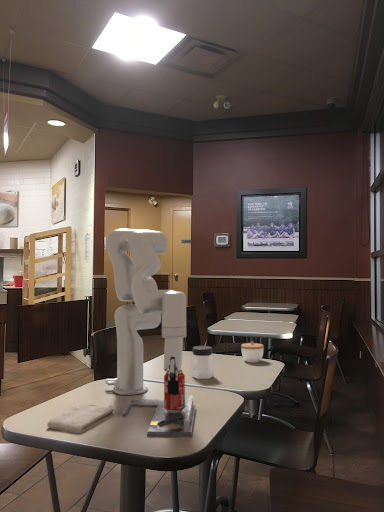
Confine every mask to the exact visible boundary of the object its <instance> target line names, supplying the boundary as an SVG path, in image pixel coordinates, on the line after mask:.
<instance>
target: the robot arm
mask: <svg viewBox="0 0 384 512" xmlns="http://www.w3.org/2000/svg"><path fill="white" fill-rule="evenodd" d="M168 248H169V242H168V238H167V236H166V234H165V233H164V232H162V231H159V230H152V229H137V228H136V229H135V228H133V229H132V228H131V229H130V228H118V229H113V230H111V231H110V232H109V233H108V235H107V238H106V249H107V253H108V256H109V259H110V261H111V264H112V270H113V271H112V272H113V280H114V287H115V294H116V297H117V299H118V300H119V301H120V302H133V303H134V304H133V303H132V304H125V305H121V306H119V307H117V308H116V310H115V312H114V324H115V329H116V331H115V332H116V340H117V341H116V350H117V351H116V352H117V353H116V354H117V355H116V356H117V360H116V361H117V367H116V369H117V370H116V372H117V373H116V375H117V376H116V377H115V378H106V380H105V384H106V385H107V386H113V387H112V392H113V393H115V394H117V395H124V396H132V395H139V394H143V393H145V392H147V391H148V389H149V388H148V385H147V384H145V383H144V341H143V338H142V337H141V336H140V334H139V333H138V331H140V330H149V329H151V330H152V329H156V328H157V327H158V326H159V325H160V324H161V338H164V348H163V349H164V351H163V353H164V354H163V371H164V372H166V371H167V370H169V374H168V394H179V381H178V371H179V370H182V369H181V368H182V365H183V354H184V353H183V345H184V344H183V339H185V338H187V295H186V293H185V292H183V291H176V290H174V289H158V285H157V282H156V280H155V279H154V277H153V276H155V275H156V274H157V273H158V272H159V271H160V270H161V268H162V262H161V259H160V257H159V255H164V254H165V253H166V252H167V251H168ZM127 252H130V255H131V256H130V255H129V254H128V253H127ZM174 369H177V370H174ZM175 373H176V374H175Z"/></svg>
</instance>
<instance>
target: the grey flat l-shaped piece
mask: <svg viewBox="0 0 384 512" xmlns="http://www.w3.org/2000/svg"><path fill="white" fill-rule="evenodd" d="M158 405H164V399H155V398H154V399H148V398H147V399H144V398H143V399H141V398H140V399H139V398H137V399H135V398H134V399H133V398H132V399H131V400H130V402H128V405H127V406H125V407H126V408H125V409H124V410H123V412H122V414H121V415H122V418H124V417H125V418H126V417H127V415H128V413H129V412H130V410H131V408H134V407H135V408H136V407H137V408H157V407H158Z"/></svg>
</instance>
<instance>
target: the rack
mask: <svg viewBox="0 0 384 512" xmlns="http://www.w3.org/2000/svg"><path fill="white" fill-rule="evenodd" d="M195 414H196V405H195V404H194V396H193V395H189V396H188V400H187V404H185V408H184V409H183V410H182V411H181V412H179V413H170V412H168V411H167V410H166V409H165V408H164V405H158V407H156V409H155V412H154V414H153V417H152V419H151V422H150V423H149V426H148V428H147V431H146V436H147V437H188V438H189V437H192V435H193V429H194V421H195ZM169 424H172V425H173V424H175V425H181V427H178V428H164V427H161V426H163V425H169Z"/></svg>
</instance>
